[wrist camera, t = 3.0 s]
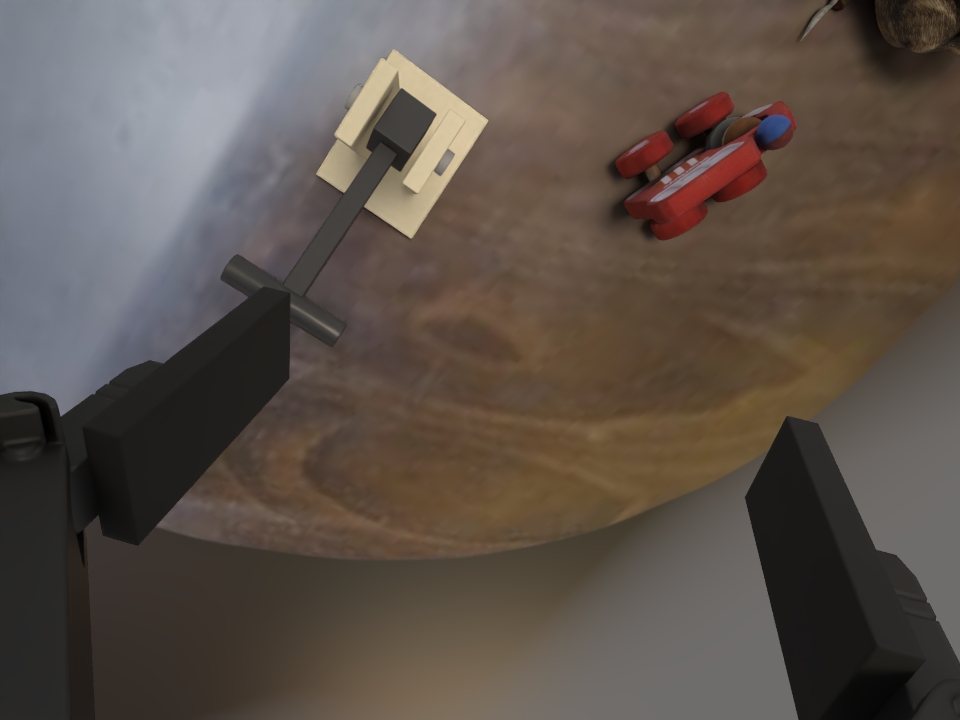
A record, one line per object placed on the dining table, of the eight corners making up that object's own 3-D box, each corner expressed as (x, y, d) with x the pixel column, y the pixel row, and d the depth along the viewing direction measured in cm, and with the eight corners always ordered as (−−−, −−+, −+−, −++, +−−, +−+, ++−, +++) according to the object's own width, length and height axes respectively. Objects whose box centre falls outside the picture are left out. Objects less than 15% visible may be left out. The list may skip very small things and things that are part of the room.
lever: (329, 350, 32) (335, 344, 30) (220, 284, 31) (218, 272, 28) (453, 154, 36) (467, 135, 33) (361, 87, 34) (369, 63, 32)
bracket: (411, 238, 48) (412, 256, 33) (317, 174, 46) (276, 165, 31) (487, 122, 46) (522, 90, 32) (393, 52, 44) (386, -16, 30)
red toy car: (770, 161, 49) (862, 152, 39) (634, 251, 50) (691, 264, 40) (730, 79, 47) (818, 47, 37) (590, 172, 48) (638, 166, 38)
